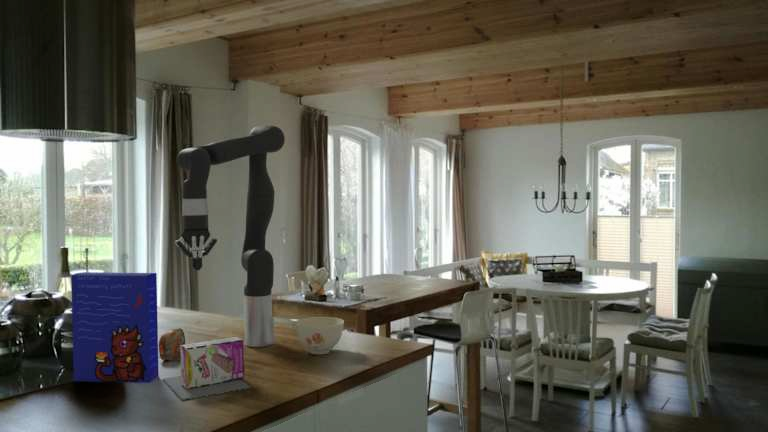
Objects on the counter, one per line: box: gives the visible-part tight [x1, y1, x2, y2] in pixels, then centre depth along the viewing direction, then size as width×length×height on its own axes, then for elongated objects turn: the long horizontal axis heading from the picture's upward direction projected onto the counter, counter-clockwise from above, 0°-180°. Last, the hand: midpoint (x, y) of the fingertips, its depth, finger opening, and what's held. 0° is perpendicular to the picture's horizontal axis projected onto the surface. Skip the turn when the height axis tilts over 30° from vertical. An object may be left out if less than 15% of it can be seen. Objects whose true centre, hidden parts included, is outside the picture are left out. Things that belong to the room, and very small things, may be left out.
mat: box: [162, 375, 251, 401], centre depth 169 cm, size 18×20×1 cm
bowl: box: [294, 316, 345, 355], centre depth 202 cm, size 16×16×10 cm
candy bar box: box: [179, 336, 245, 389], centre depth 169 cm, size 11×5×16 cm
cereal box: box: [70, 271, 160, 384], centre depth 174 cm, size 22×6×30 cm, turn 84°
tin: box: [158, 328, 186, 361], centre depth 197 cm, size 15×3×8 cm, turn 176°
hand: (196, 269), depth 190 cm, fingers closed
